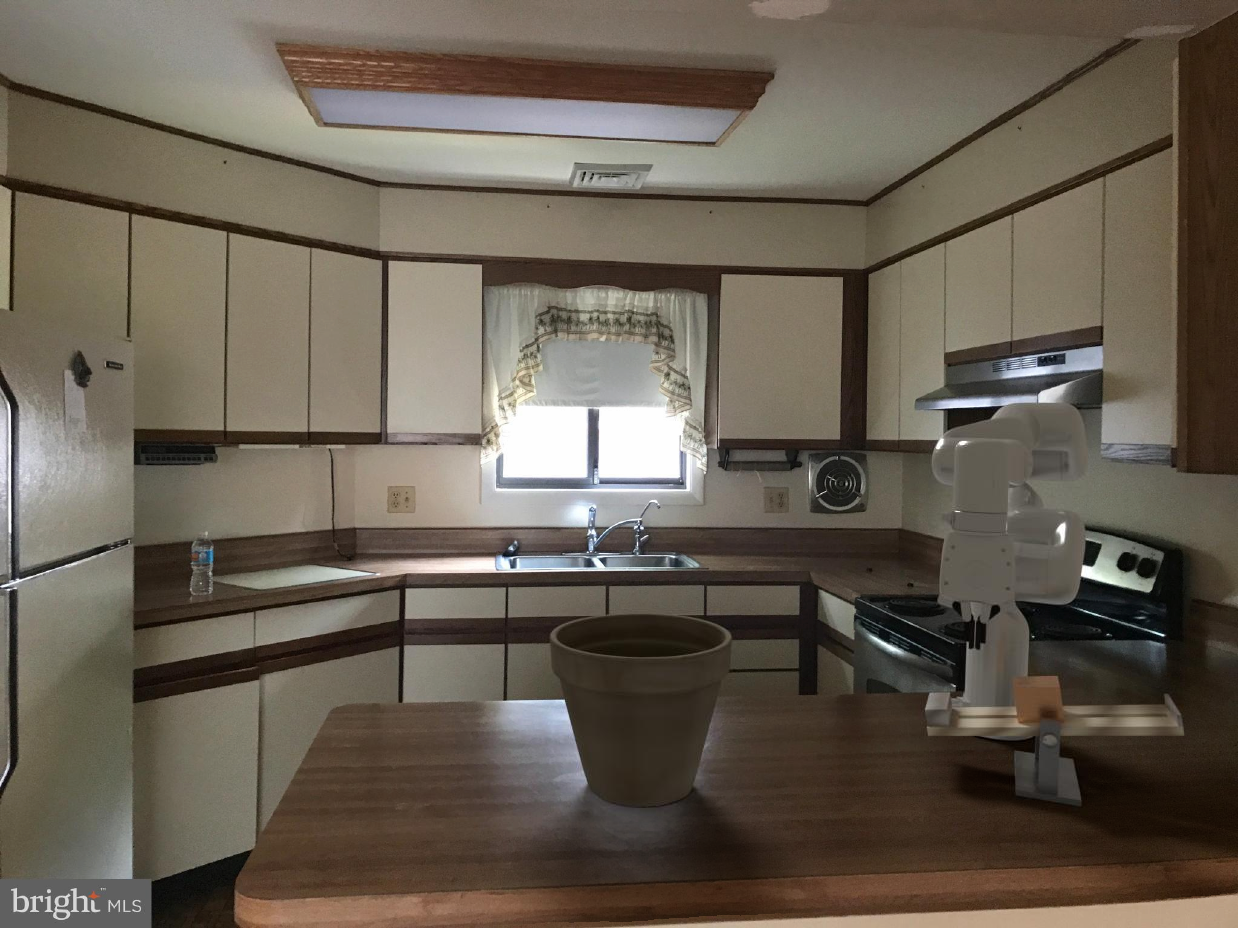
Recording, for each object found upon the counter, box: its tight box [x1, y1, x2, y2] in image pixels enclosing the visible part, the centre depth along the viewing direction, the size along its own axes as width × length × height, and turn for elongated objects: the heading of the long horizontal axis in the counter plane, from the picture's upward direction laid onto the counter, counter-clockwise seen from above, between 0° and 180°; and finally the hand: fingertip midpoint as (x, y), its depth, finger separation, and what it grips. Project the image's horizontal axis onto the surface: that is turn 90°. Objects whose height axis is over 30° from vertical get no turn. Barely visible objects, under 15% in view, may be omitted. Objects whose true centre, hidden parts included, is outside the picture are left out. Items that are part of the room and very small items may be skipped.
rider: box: [1013, 675, 1065, 723], centre depth 126 cm, size 6×6×6 cm
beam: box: [924, 691, 1185, 737], centre depth 125 cm, size 32×10×4 cm, turn 66°
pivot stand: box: [1014, 718, 1083, 807], centre depth 125 cm, size 8×16×10 cm, turn 156°
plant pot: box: [549, 612, 733, 808], centre depth 121 cm, size 25×25×22 cm
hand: (974, 647), depth 128 cm, fingers closed
